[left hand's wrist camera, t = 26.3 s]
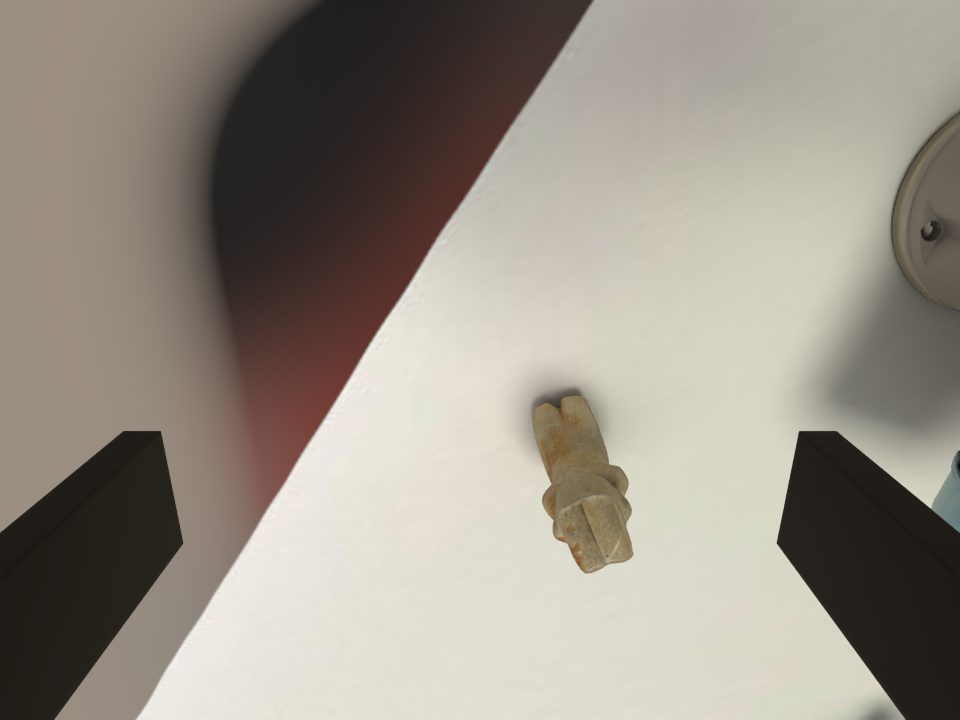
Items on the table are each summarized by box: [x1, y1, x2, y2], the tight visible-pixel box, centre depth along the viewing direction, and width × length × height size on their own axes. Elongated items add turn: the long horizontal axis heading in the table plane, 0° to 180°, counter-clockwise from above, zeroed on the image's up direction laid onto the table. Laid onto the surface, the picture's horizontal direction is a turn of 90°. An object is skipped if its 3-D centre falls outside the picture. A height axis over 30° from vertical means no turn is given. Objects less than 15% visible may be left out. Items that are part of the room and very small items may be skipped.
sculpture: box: [532, 396, 633, 573], centre depth 42 cm, size 6×7×15 cm
